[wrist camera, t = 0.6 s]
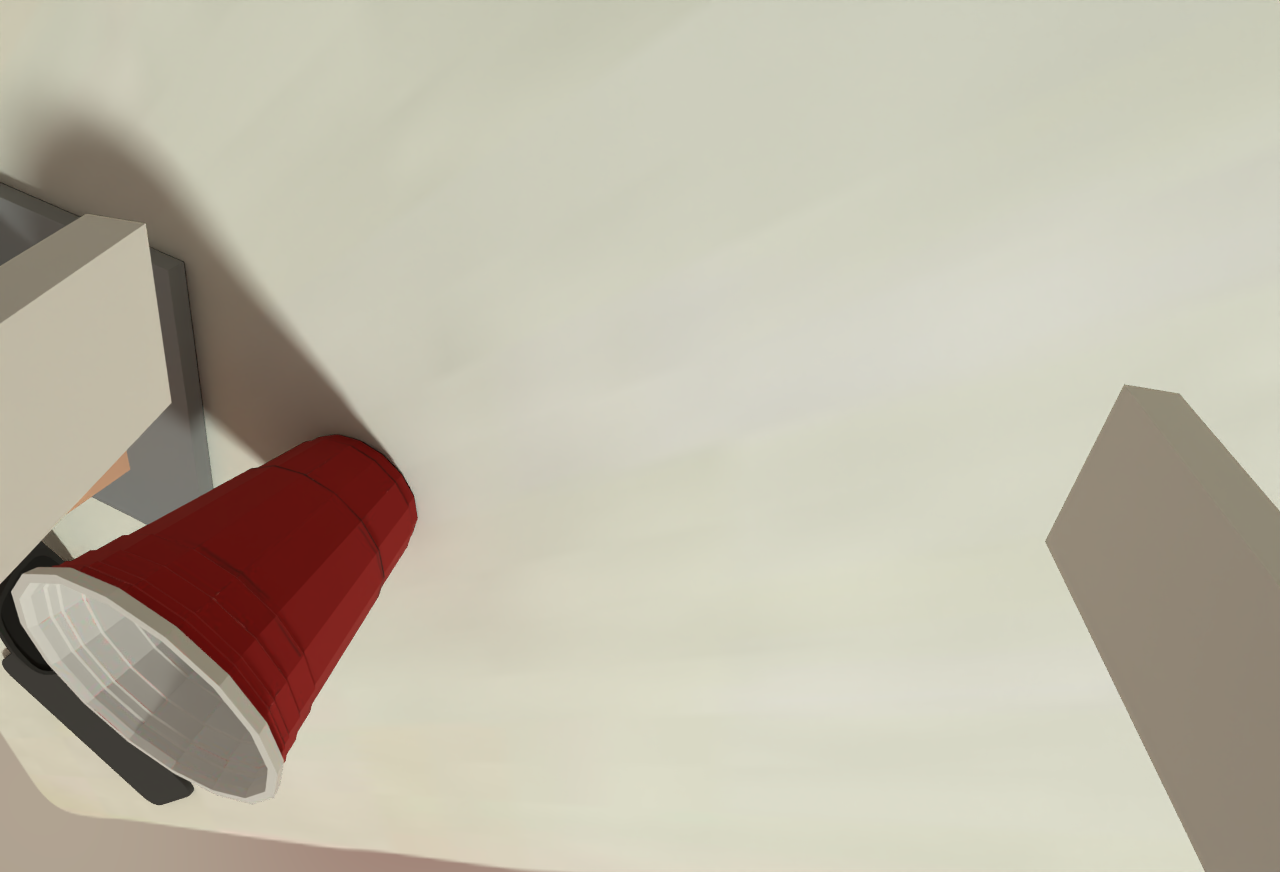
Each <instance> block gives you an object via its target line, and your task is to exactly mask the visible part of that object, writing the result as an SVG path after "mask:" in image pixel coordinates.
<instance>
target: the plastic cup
mask: <svg viewBox="0 0 1280 872" xmlns="http://www.w3.org/2000/svg"><path fill="white" fill-rule="evenodd" d="M417 518H418V517H417V511H416V505H415V500H414V496H413V494H412V493H411V491H410V489H409V487H408V485H407V483H406V482H405V480H404V478H403V476H402V475H401V474H400V473H399V471H398V470H397V469H396V468H395V467H394V466H393V465H392V464H391V463H390V462H389V461H388V460H387V459H386V458H385V457H384V456H383V455H382V454H380V453H379V452H377V451H376V450H374V449H373V448H371V447H369V446H368V445H366V444H365V443H363V442H361V441H360V440H356V439H352V438H349V437H345V436H341V435H338V434H336V435H330V436H323V437H318V438H316V439H314V440H312V441H306V442H304V443H302V444H300V445H298V446H296V447H295V448H293V449H291V450H289V451H287V452H286V453H284V454H282V455H280V456H278V457H276V458H275V459H273V460H271V461H269V462H267V463H266V464H264V465H262V466H260V467H258V468H251V469H249V470H247V471H246V472H244V473H242V474H240V475H238V476H236V477H235V478H233V479H231V480H229V481H227V482H225V483H223V484H222V485H220V486H218V487H216V488H214V489H212V490H211V491H209V492H207V493H205V494H203V495H201V496H200V497H198V498H196V499H194V500H192V501H190V502H188V503H187V504H185V505H183V506H181V507H179V508H177V509H176V510H174V511H172V512H170V513H168V514H166V515H165V516H163V517H161V518H159V519H157V520H155V521H153V522H152V523H150V524H148V525H146V526H144V527H142V528H141V529H139V530H137V531H135V532H133V533H131V534H130V535H122V536H121V537H119V538H117V539H115V540H113V541H112V542H110V543H108V544H106V545H105V546H103V547H101V548H99V549H97V550H90V551H88V552H87V553H85V554H83V555H81V556H79V557H78V558H76V559H74V560H72V561H66V562H64V563H62V564H60V565H54V566H52V567H37V568H35V569H32V570H30V571H28V572H25V573H23V574H22V575H21V577H20V578H19V580H18V582H17V583H16V585H15V586H14V588H13V590H12V591H11V593H12V596H13V600H14V603H15V607H16V610H17V613H18V617H19V620H20V623H21V625H22V626H23V628H24V629H25V631H26V632H27V634H28V635H29V637H30V638H31V640H32V641H33V643H34V644H35V646H36V647H37V649H38V651H39V652H40V654H41V655H42V657H43V658H44V660H45V661H46V662H47V664H48V665H49V666H50V667H51V668H52V669H53V670H54V671H55V672H56V673H57V674H58V676H59V677H60V678H61V679H62V680H63V681H64V682H65V683H66V684H67V685H68V687H69V688H70V689H71V690H72V691H73V692H74V693H75V694H76V695H77V696H78V697H79V699H80V700H81V701H82V702H83V703H84V704H85V705H86V706H88V707H89V708H90V709H91V710H92V711H93V712H94V713H96V714H97V715H98V716H99V717H100V718H101V719H103V720H104V721H105V722H106V723H107V724H108V725H109V726H111V727H112V728H113V729H114V730H115V731H116V732H118V733H119V734H120V735H121V736H122V737H123V738H124V739H126V740H127V741H128V742H129V743H131V744H132V745H134V746H135V747H136V748H138V749H139V750H141V751H142V752H144V753H145V754H147V755H148V756H149V757H151V758H152V759H154V760H155V761H157V762H158V763H160V764H161V765H162V766H164V767H165V768H167V769H168V770H170V771H171V772H173V773H174V774H176V775H178V776H180V777H182V778H184V779H186V780H188V781H190V782H192V783H194V784H196V785H198V786H200V787H202V788H203V789H205V790H207V791H209V792H211V793H213V794H215V795H217V796H221V797H225V798H229V799H233V800H237V801H241V802H245V803H249V804H255V803H258V802H262V801H265V800H268V799H271V798H274V797H275V795H276V793H277V790H278V788H279V786H280V783H281V777H282V771H283V764H284V762H285V761H286V755H287V753H288V751H289V750H290V748H291V747H292V745H293V743H294V742H295V740H296V736H297V732H298V730H299V729H300V727H301V726H302V724H303V722H304V721H305V719H306V718H307V716H308V714H309V713H310V710H311V706H312V703H313V702H314V700H315V698H316V697H317V695H318V694H319V692H320V690H321V689H322V687H323V685H324V684H325V682H326V681H327V679H328V677H329V676H330V674H331V673H332V671H333V669H334V668H335V666H336V664H337V663H338V661H339V660H340V658H341V656H342V655H343V653H344V652H345V650H346V648H347V647H348V645H349V643H350V642H351V640H352V639H353V637H354V635H355V634H356V632H357V631H358V629H359V627H360V626H361V624H362V622H363V621H364V619H365V618H366V616H367V614H368V613H369V611H370V609H371V608H372V606H373V605H374V603H375V601H376V600H377V598H378V597H379V594H380V590H381V587H382V586H383V584H384V582H385V581H386V579H387V578H388V576H389V575H390V573H391V571H392V570H393V568H394V567H395V565H396V564H397V562H398V560H399V559H400V557H401V556H402V554H403V553H404V551H405V549H406V548H407V546H408V543H409V540H410V537H411V535H412V533H413V530H414V527H415V524H416V521H417Z"/></svg>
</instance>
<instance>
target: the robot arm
mask: <svg viewBox="0 0 1280 872" xmlns="http://www.w3.org/2000/svg"><path fill="white" fill-rule="evenodd" d="M171 403H172V402H171V395H170V388H169V382H168V375H167V368H166V361H165V354H164V347H163V340H162V333H161V326H160V319H159V312H158V305H157V298H156V291H155V284H154V277H153V270H152V263H151V256H150V249H149V242H148V236H147V229H146V223H141V222H135V221H129V220H123V219H117V218H110V217H104V216H98V215H92V214H85V215H83V216H82V217H80V218H78V219H77V220H75V221H73V222H72V223H70V224H68V225H67V226H65V227H64V228H62V229H60V230H59V231H57V232H55V233H54V234H52V235H50V236H49V237H47V238H45V239H44V240H42V241H40V242H39V243H37V244H36V245H34V246H32V247H31V248H29V249H27V250H26V251H24V252H22V253H21V254H19V255H17V256H16V257H14V258H12V259H11V260H9V261H8V262H6V263H4V264H3V265H1V266H0V584H1V583H2V582H3V581H4V580H5V578H6V577H7V576H8V575H9V574H10V573H11V572H12V571H13V570H14V569H15V568H16V567H17V566H18V565H19V564H20V563H21V562H22V560H23V559H24V558H25V557H26V556H27V555H28V554H29V553H30V552H31V551H32V550H33V549H34V548H35V547H36V546H37V545H38V544H39V542H40V541H41V540H42V539H43V538H44V537H45V536H46V535H47V534H48V533H49V532H50V531H51V530H52V529H53V528H54V527H55V526H56V524H57V523H58V522H59V521H60V520H61V519H62V518H63V517H64V516H65V515H66V514H67V513H68V512H69V511H70V510H71V509H72V508H73V506H74V505H75V504H76V503H77V502H78V501H79V500H80V499H81V498H82V497H83V496H84V495H85V494H86V493H87V492H88V491H89V490H90V488H91V487H92V486H93V485H94V484H95V483H96V482H97V481H98V480H99V479H100V478H101V477H102V476H103V475H104V474H105V473H106V472H107V471H108V469H109V468H110V467H111V466H112V465H113V464H114V463H115V462H116V461H117V460H118V459H119V458H120V457H121V456H122V455H123V454H124V453H125V451H126V450H127V449H128V448H129V447H130V446H131V445H132V444H133V443H134V442H135V441H136V440H137V439H138V438H139V437H140V436H141V435H142V433H143V432H144V431H145V430H146V429H147V428H148V427H149V426H150V425H151V424H152V423H153V422H154V421H155V420H156V419H157V418H158V417H159V415H160V414H161V413H162V412H163V411H164V410H165V409H166V408H167V407H168V406H169V405H170V404H171ZM1045 542H1046V544H1047V546H1048V548H1049V550H1050V552H1051V554H1052V556H1053V558H1054V560H1055V563H1056V565H1057V567H1058V569H1059V571H1060V573H1061V575H1062V577H1063V579H1064V581H1065V583H1066V585H1067V587H1068V589H1069V591H1070V594H1071V596H1072V598H1073V600H1074V602H1075V604H1076V606H1077V608H1078V610H1079V612H1080V614H1081V616H1082V618H1083V620H1084V622H1085V625H1086V627H1087V629H1088V631H1089V633H1090V635H1091V637H1092V639H1093V641H1094V643H1095V645H1096V647H1097V649H1098V651H1099V653H1100V656H1101V658H1102V660H1103V662H1104V664H1105V666H1106V668H1107V670H1108V672H1109V674H1110V676H1111V678H1112V680H1113V682H1114V684H1115V687H1116V689H1117V691H1118V693H1119V695H1120V697H1121V699H1122V701H1123V703H1124V705H1125V707H1126V709H1127V711H1128V713H1129V715H1130V718H1131V720H1132V722H1133V724H1134V726H1135V728H1136V730H1137V732H1138V734H1139V736H1140V738H1141V740H1142V742H1143V744H1144V746H1145V749H1146V751H1147V753H1148V755H1149V757H1150V759H1151V761H1152V763H1153V765H1154V767H1155V769H1156V771H1157V773H1158V775H1159V777H1160V780H1161V782H1162V784H1163V786H1164V788H1165V790H1166V792H1167V794H1168V796H1169V798H1170V800H1171V802H1172V804H1173V806H1174V808H1175V810H1176V813H1177V815H1178V817H1179V819H1180V821H1181V823H1182V825H1183V827H1184V829H1185V831H1186V833H1187V835H1188V837H1189V839H1190V841H1191V844H1192V846H1193V848H1194V850H1195V852H1196V854H1197V856H1198V858H1199V860H1200V862H1201V864H1202V866H1203V868H1204V870H1205V872H1280V511H1279V510H1278V509H1277V507H1276V506H1275V505H1274V504H1273V503H1272V502H1271V500H1270V499H1269V498H1268V497H1267V496H1266V495H1265V493H1264V492H1263V491H1262V490H1261V489H1260V488H1259V486H1258V485H1257V484H1256V483H1255V482H1254V481H1253V479H1252V478H1251V477H1250V476H1249V475H1248V474H1247V472H1246V471H1245V470H1244V469H1243V468H1242V467H1241V465H1240V464H1239V463H1238V462H1237V461H1236V459H1235V458H1234V457H1233V456H1232V455H1231V454H1230V452H1229V451H1228V450H1227V449H1226V448H1225V447H1224V445H1223V444H1222V443H1221V442H1220V441H1219V440H1218V438H1217V437H1216V436H1215V435H1214V434H1213V433H1212V431H1211V430H1210V429H1209V428H1208V427H1207V426H1206V424H1205V423H1204V422H1203V421H1202V420H1201V419H1200V417H1199V416H1198V415H1197V414H1196V413H1195V411H1194V410H1193V409H1192V408H1191V407H1190V406H1189V404H1188V403H1187V402H1186V401H1185V400H1184V399H1183V397H1182V396H1181V395H1180V394H1178V393H1172V392H1166V391H1160V390H1154V389H1148V388H1142V387H1136V386H1130V385H1124V386H1123V388H1122V390H1121V392H1120V394H1119V396H1118V398H1117V400H1116V402H1115V404H1114V406H1113V408H1112V410H1111V412H1110V414H1109V416H1108V418H1107V420H1106V422H1105V424H1104V426H1103V428H1102V430H1101V432H1100V434H1099V436H1098V438H1097V440H1096V442H1095V444H1094V446H1093V448H1092V450H1091V452H1090V453H1089V455H1088V457H1087V459H1086V461H1085V463H1084V465H1083V467H1082V469H1081V471H1080V473H1079V475H1078V477H1077V479H1076V481H1075V483H1074V485H1073V487H1072V489H1071V491H1070V493H1069V495H1068V497H1067V499H1066V501H1065V503H1064V505H1063V507H1062V509H1061V511H1060V513H1059V515H1058V517H1057V519H1056V521H1055V523H1054V525H1053V527H1052V529H1051V531H1050V533H1049V535H1048V537H1047V539H1046V541H1045Z"/></svg>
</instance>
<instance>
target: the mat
mask: <svg viewBox="0 0 1280 872" xmlns="http://www.w3.org/2000/svg"><path fill="white" fill-rule="evenodd" d="M78 218H80V217H78V216H76V215H74V214H71V213H69V212H67V211H64V210H62V209H60V208H57V207H55V206H53V205H50V204H48V203H46V202H44V201H41V200H39V199H37V198H34V197H32V196H30V195H27V194H25V193H23V192H20V191H18V190H16V189H14V188H11V187H9V186H7V185H4V184H2V183H0V266H1V265H3V264H4V263H6V262H8V261H9V260H11V259H12V258H14V257H16V256H17V255H19V254H21V253H22V252H24V251H26V250H27V249H29V248H31V247H32V246H34V245H36V244H37V243H39V242H40V241H42V240H44V239H45V238H47V237H49V236H50V235H52V234H54V233H55V232H57V231H59V230H60V229H62V228H64V227H65V226H67V225H68V224H70V223H72V222H73V221H75V220H77V219H78ZM149 249H150V256H151V263H152V270H153V277H154V284H155V291H156V298H157V305H158V312H159V319H160V326H161V333H162V340H163V347H164V354H165V361H166V368H167V375H168V382H169V388H170V395H171V402H172V403H171V404H170V405H169V406H168V407H167V408H166V409H165V410H164V411H163V412H162V413H161V414H160V415H159V417H158V418H157V419H156V420H155V421H154V422H153V423H152V424H151V425H150V426H149V427H148V428H147V429H146V430H145V431H144V432H143V433H142V435H141V436H140V437H139V438H138V439H137V440H136V441H135V442H134V443H133V444H132V445H131V446H130V447H129V448H128V449H127V450H126V451H127V456H128V461H129V466H130V470H129V471H128V472H126V473H125V474H123V475H122V476H121V477H119V478H118V479H116V480H115V481H113V482H112V483H111V484H109V485H108V486H106V487H105V488H103V489H102V490H101V491H99V492H98V493H96V494H95V495H93V496H92V497H93V498H95V499H97V500H99V501H101V502H103V503H105V504H107V505H109V506H111V507H113V508H115V509H117V510H119V511H121V512H123V513H125V514H127V515H129V516H131V517H133V518H135V519H137V520H139V521H141V522H143V523H145V524H147V525H148V524H150V523H152V522H153V521H155V520H157V519H159V518H161V517H163V516H165V515H166V514H168V513H170V512H172V511H174V510H176V509H177V508H179V507H181V506H183V505H185V504H187V503H188V502H190V501H192V500H194V499H196V498H198V497H200V496H201V495H203V494H205V493H207V492H209V491H211V490H212V489H213V484H212V476H211V468H210V461H209V453H208V445H207V438H206V430H205V422H204V414H203V407H202V399H201V391H200V384H199V376H198V368H197V361H196V353H195V345H194V337H193V330H192V322H191V314H190V307H189V299H188V291H187V283H186V276H185V268H184V262H182V261H180V260H178V259H175V258H173V257H171V256H168V255H166V254H164V253H161V252H159V251H157V250H154V249H152V248H150V247H149Z"/></svg>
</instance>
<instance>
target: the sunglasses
mask: <svg viewBox="0 0 1280 872" xmlns="http://www.w3.org/2000/svg"><path fill="white" fill-rule="evenodd" d="M64 562H65V561H63V560H62V559H61V558H60V557H59V556H58V555H57V554H56V553H54V552H53V551H52V550H51V549H50V548H48V547H47V546H46V545H45V544H44V543H43V542H42V541H40V542H39V544H38V545H37V546H36V547H35V548H34V549H33V550H32V551H31V552H30V553H29V554H28V555H27V556H26V557H25V558H24V559H23V560H22V562H21V563H20V564H19V565H18V566H17V567H16V568H15V569H14V570H13V571H12V572H11V573H10V574H9V575H8V576H7V577H6V578H5V580H4V581H3V582H2V583H1V584H0V638H1V639H2V641H3V643H4V644H5V646H6V647H7V649H8V650H9V651H10V652H11V654H12V655H13V656H14V657H15V658H16V659H17V660H18V661H20V662H21V663H22V664H23V665H24V666H25V667H27V668H28V669H29V670H31V671H33V672H36V673H39V674H43V675H53V674H57V673H56V672H55V671H54V670H53V669H52V668H51V667H50V666H49V665H48V664H47V662H46V661H45V660H44V658H43V657H42V655H41V654H40V652H39V651H38V649H37V647H36V646H35V644H34V643H33V641H32V640H31V638H30V637H29V635H28V634H27V632H26V631H25V629H24V628H23V626H22V625H21V623H20V620H19V617H18V613H17V610H16V607H15V603H14V600H13V596H12V593H11V591H12V590H13V588H14V586H15V585H16V583H17V582H18V580H19V578H20V577H21V575H22V574H23V573H25V572H28V571H30V570H32V569H35V568H37V567H52V566H54V565H60V564H62V563H64Z"/></svg>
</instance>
